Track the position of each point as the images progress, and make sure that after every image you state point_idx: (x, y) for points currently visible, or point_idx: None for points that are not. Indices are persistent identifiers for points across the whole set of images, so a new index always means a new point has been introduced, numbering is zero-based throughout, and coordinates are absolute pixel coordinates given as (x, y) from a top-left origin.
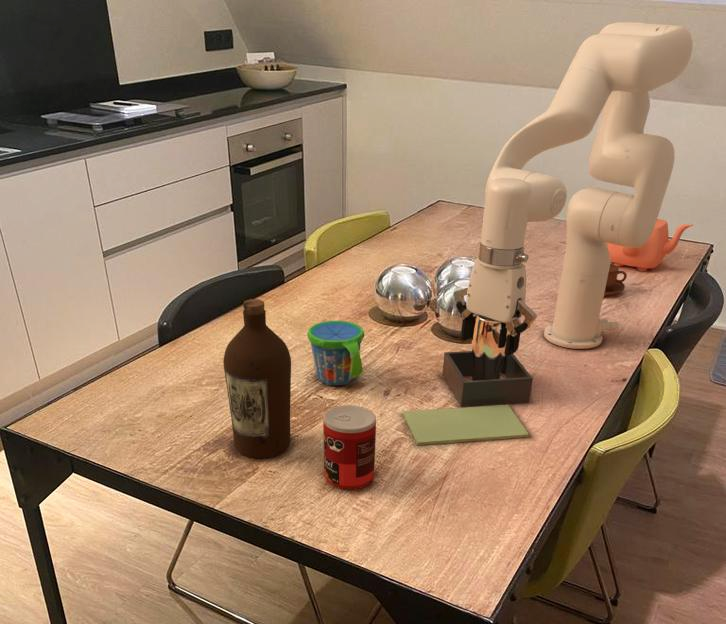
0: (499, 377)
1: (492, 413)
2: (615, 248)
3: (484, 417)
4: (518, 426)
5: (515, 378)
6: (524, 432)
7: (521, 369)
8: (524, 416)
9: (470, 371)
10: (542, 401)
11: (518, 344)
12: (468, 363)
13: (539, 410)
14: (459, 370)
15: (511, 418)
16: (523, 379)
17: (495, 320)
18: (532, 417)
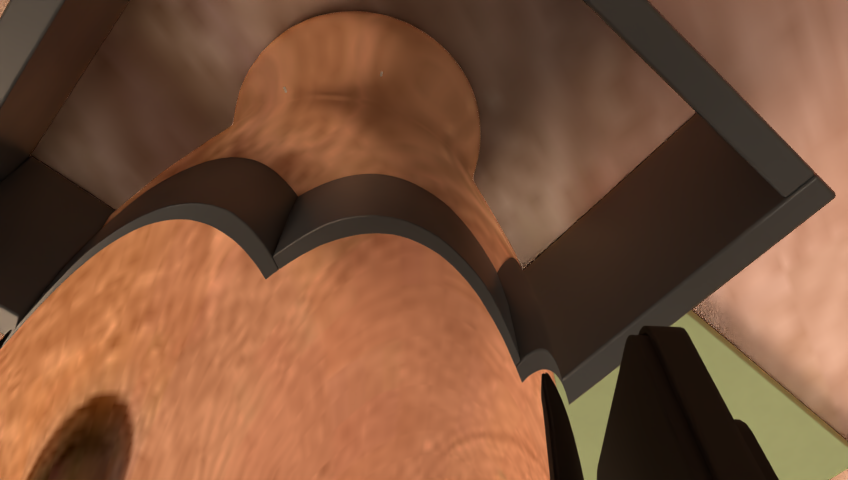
0: (468, 160)
1: (598, 407)
2: None
3: (580, 460)
4: (785, 431)
5: (685, 293)
6: (835, 461)
7: (655, 71)
8: (766, 286)
9: (111, 15)
10: (828, 20)
11: (765, 466)
12: (64, 59)
13: (839, 160)
14: (56, 98)
15: (720, 391)
16: (754, 259)
17: (76, 360)
18: (818, 267)
